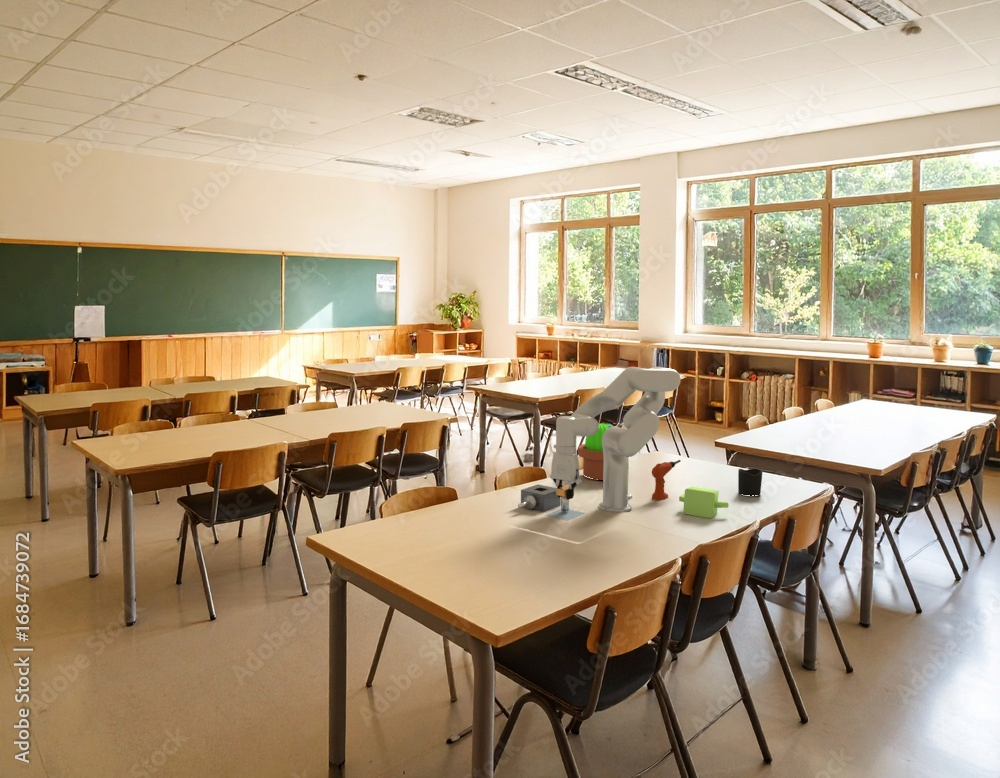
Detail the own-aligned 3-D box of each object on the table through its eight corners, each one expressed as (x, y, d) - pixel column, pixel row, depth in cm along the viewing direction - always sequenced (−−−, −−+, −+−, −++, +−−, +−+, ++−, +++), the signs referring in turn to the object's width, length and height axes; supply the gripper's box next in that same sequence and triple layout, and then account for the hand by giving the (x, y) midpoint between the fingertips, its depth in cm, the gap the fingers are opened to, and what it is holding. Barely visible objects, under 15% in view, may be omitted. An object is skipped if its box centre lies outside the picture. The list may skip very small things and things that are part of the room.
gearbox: (730, 515, 278) (732, 490, 277) (723, 521, 269) (725, 495, 269) (683, 507, 287) (685, 483, 286) (675, 512, 279) (677, 487, 278)
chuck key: (565, 507, 281) (565, 485, 280) (573, 509, 279) (573, 486, 278) (556, 511, 276) (556, 488, 275) (564, 513, 274) (564, 490, 273)
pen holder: (756, 498, 299) (758, 474, 298) (734, 494, 305) (735, 471, 304) (764, 493, 307) (765, 470, 306) (741, 489, 312) (742, 466, 311)
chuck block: (537, 501, 294) (537, 484, 293) (560, 506, 287) (560, 488, 286) (507, 512, 279) (507, 494, 278) (531, 517, 272) (531, 499, 271)
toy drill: (686, 489, 307) (684, 454, 304) (659, 503, 295) (657, 467, 292) (676, 486, 311) (674, 452, 308) (649, 500, 299) (647, 465, 296)
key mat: (563, 509, 283) (563, 508, 283) (585, 514, 277) (585, 513, 276) (544, 516, 274) (544, 515, 274) (567, 521, 267) (567, 520, 267)
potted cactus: (570, 479, 330) (571, 423, 326) (588, 468, 349) (589, 416, 346) (617, 485, 319) (619, 428, 316) (633, 474, 339) (635, 420, 335)
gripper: (541, 448, 277) (541, 495, 279) (579, 454, 266) (578, 503, 269) (553, 445, 283) (552, 491, 285) (590, 451, 272) (589, 499, 274)
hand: (565, 497), depth 277 cm, fingers open, 3 cm apart
